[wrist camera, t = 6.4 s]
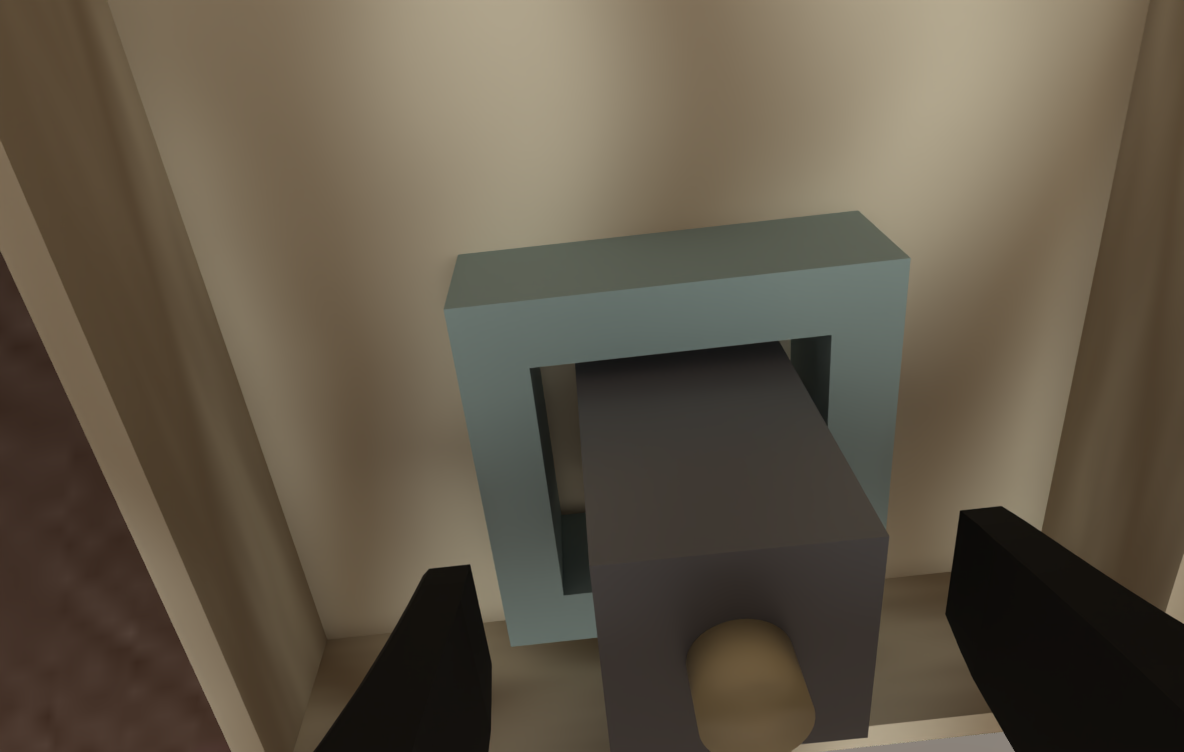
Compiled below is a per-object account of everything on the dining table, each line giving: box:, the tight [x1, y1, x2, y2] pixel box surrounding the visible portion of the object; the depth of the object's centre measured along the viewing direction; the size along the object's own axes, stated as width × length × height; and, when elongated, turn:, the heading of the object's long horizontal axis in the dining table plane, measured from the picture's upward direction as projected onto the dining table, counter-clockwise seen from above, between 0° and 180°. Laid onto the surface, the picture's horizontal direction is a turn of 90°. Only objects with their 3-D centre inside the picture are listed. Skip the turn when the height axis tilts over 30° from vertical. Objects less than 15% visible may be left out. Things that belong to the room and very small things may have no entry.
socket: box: [444, 211, 911, 647], centre depth 16 cm, size 7×7×2 cm
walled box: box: [0, 0, 1184, 752], centre depth 14 cm, size 18×20×4 cm
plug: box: [575, 341, 889, 752], centre depth 13 cm, size 4×4×8 cm
